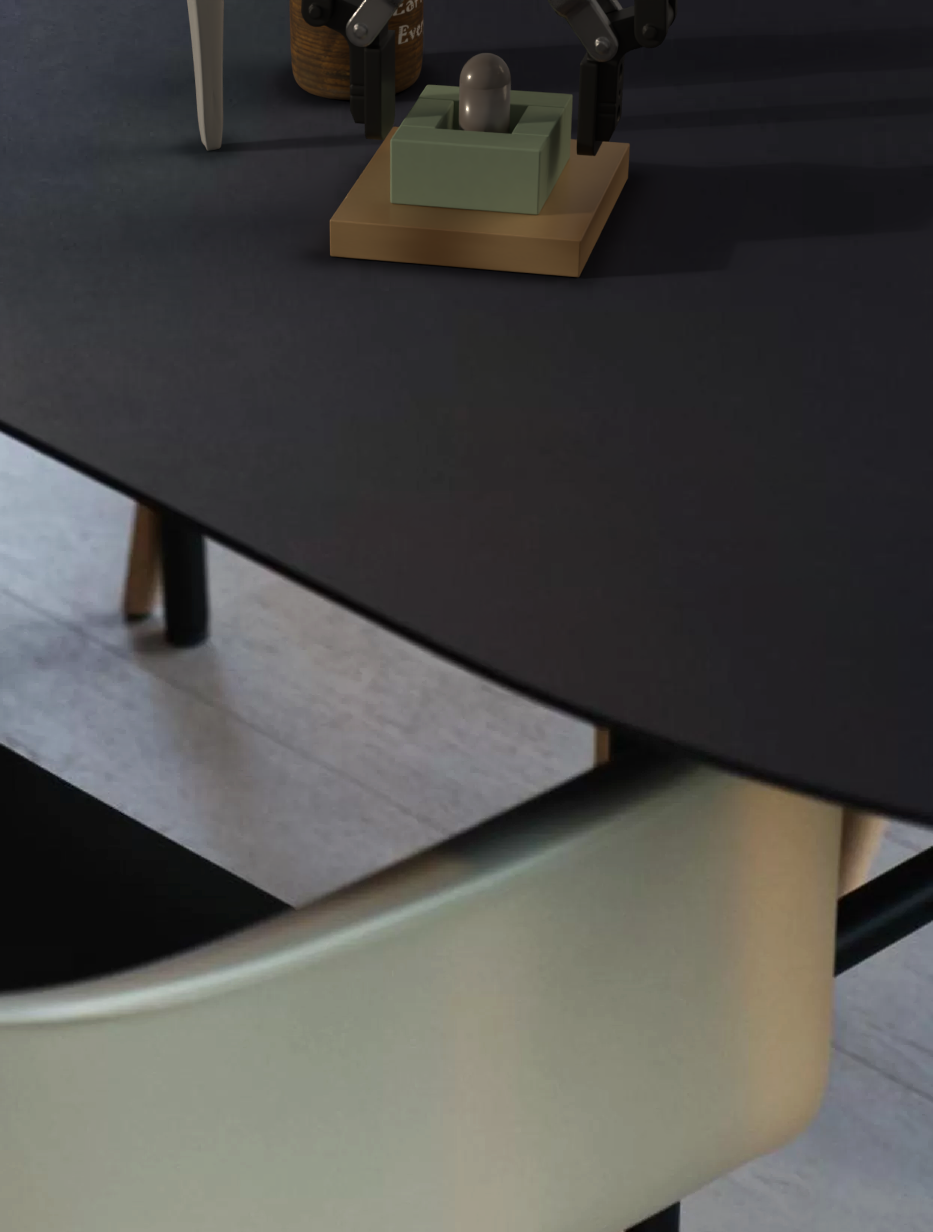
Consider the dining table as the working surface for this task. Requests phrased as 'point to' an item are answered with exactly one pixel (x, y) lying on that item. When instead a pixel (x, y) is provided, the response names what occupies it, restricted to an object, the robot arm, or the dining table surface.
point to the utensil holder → (327, 53)
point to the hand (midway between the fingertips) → (484, 140)
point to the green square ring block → (480, 154)
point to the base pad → (476, 235)
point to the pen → (208, 67)
